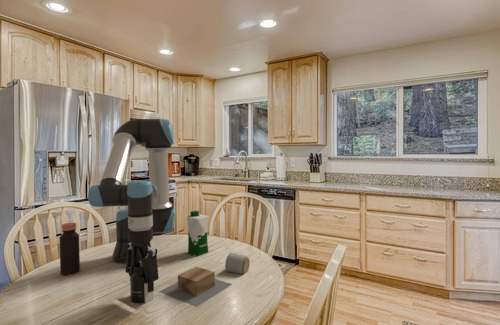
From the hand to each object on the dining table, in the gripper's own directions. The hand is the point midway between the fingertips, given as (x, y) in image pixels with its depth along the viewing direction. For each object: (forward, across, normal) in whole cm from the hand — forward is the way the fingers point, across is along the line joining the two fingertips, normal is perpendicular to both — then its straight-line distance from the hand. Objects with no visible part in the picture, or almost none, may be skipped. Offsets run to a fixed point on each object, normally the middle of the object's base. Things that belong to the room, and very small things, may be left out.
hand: (141, 297), depth 93 cm
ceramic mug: (+1, +13, +36) cm, 39 cm away
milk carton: (+1, -17, +44) cm, 47 cm away
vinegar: (+1, -45, -2) cm, 45 cm away
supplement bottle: (+1, 0, 0) cm, 1 cm away
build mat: (+1, +10, +15) cm, 18 cm away
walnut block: (0, +10, +15) cm, 18 cm away
